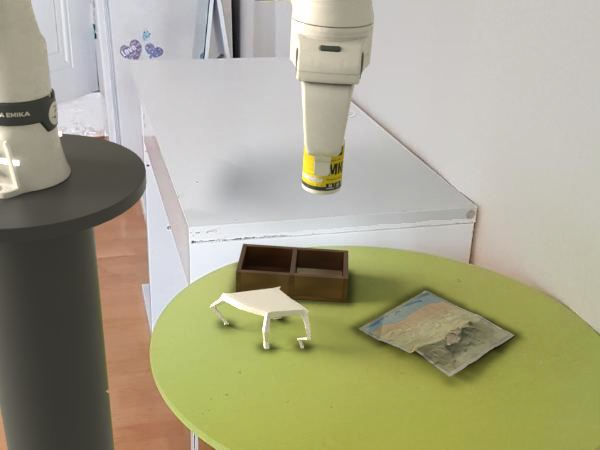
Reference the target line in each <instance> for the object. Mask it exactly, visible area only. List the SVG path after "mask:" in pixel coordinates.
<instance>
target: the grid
mask: <svg viewBox="0 0 600 450" xmlns="http://www.w3.org/2000/svg"><path fill="white" fill-rule="evenodd" d="M280 286H281V287H280ZM276 287H280V289H279V290H281V291H282V292H283V293H284V294H286V295H287V296H288V297H290V298H291V299H292V300H306V301H307V300H308V301H320V302H321V301H322V302H337V303H338V302H339V303H347V302H348V301H347V300H348V291H349V250H347V249H346V250H345V249H329V248H315V247H314V248H313V247H302V246H301V247H299V246H288V245H287V246H285V245H270V244H269V245H268V244H256V243H255V244H254V243H242V246H241V250H240V253H239V258H238V262H237V265H236V270H235V293H237V292H245V291H253V290H261V289H270V288H276Z"/></svg>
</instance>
